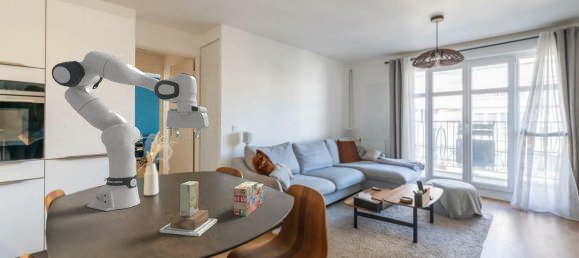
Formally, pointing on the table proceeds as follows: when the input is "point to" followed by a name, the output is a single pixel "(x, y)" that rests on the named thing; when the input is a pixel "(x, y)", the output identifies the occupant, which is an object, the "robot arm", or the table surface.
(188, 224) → the walnut plinth
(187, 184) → the skincare box
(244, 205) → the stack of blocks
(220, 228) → the table surface
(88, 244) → the table surface
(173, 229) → the white flat slab
